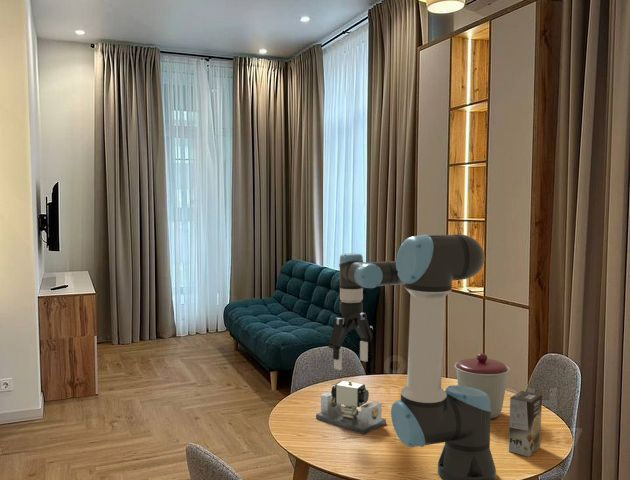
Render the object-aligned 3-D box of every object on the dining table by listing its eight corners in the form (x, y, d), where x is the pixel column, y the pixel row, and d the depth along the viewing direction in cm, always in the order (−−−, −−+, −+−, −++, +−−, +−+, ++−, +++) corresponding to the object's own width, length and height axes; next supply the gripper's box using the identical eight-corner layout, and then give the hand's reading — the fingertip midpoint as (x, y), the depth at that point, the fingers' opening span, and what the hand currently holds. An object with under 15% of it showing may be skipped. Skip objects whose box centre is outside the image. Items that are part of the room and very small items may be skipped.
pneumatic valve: (363, 422, 194) (363, 385, 193) (330, 415, 199) (331, 380, 198) (369, 416, 198) (370, 381, 198) (338, 410, 204) (338, 376, 203)
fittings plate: (386, 423, 196) (386, 401, 196) (363, 434, 188) (363, 410, 187) (338, 408, 210) (338, 388, 209) (315, 418, 201) (315, 396, 200)
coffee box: (529, 457, 171) (531, 402, 170) (508, 451, 175) (509, 397, 174) (540, 447, 178) (542, 394, 177) (519, 441, 182) (521, 389, 181)
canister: (490, 402, 216) (491, 345, 215) (519, 421, 199) (521, 358, 197) (444, 407, 212) (445, 348, 210) (470, 426, 194) (471, 362, 193)
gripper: (365, 295, 208) (365, 355, 209) (317, 304, 189) (317, 370, 190) (382, 297, 202) (382, 359, 204) (335, 307, 184) (335, 375, 185)
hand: (351, 364), depth 197 cm, fingers open, 13 cm apart
